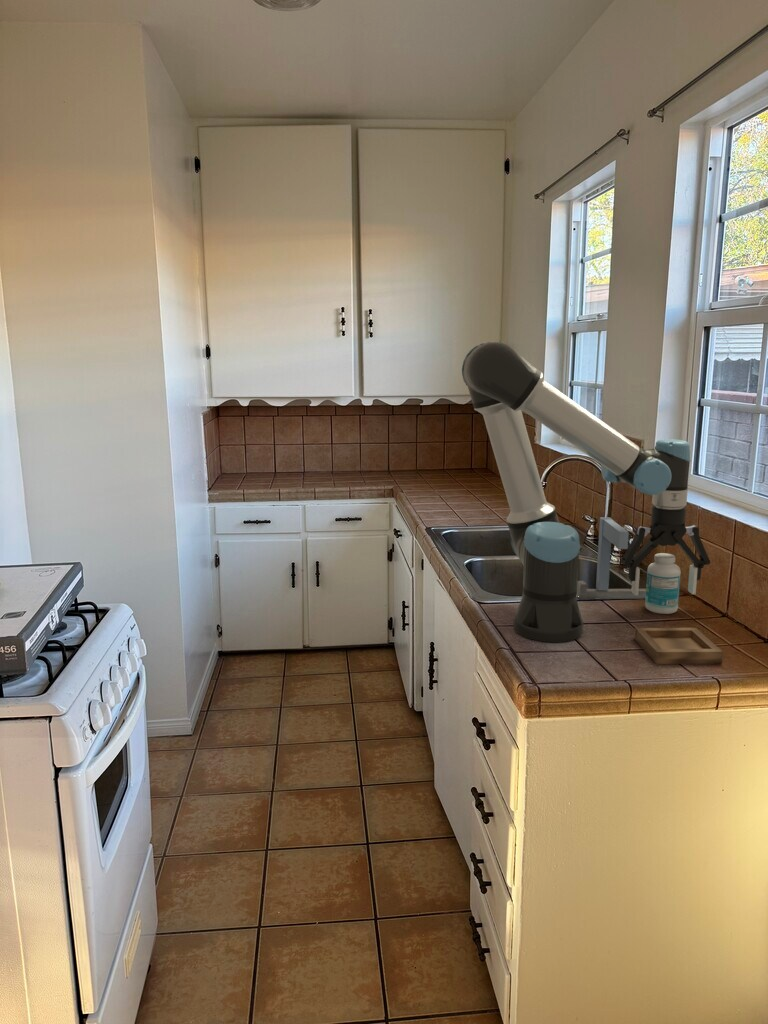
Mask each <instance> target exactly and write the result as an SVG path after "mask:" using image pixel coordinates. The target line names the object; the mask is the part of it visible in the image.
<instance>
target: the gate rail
mask: <svg viewBox="0 0 768 1024" xmlns="http://www.w3.org/2000/svg"><path fill="white" fill-rule="evenodd" d="M631 590H632V588H608V590H598V589H597V588H588V584H587V583H586V582H585V580H577V596H579V597H577V598H578V599H579V600H580V601H581V600H583V601H586V600H596V599H595V598H601V599H600V600H644V599H646V588H639V592H638V595H634V594H633V593H632V592H631Z"/></svg>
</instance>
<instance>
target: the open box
mask: <svg viewBox="0 0 768 1024" xmlns="http://www.w3.org/2000/svg"><path fill="white" fill-rule="evenodd" d="M634 640H635V641H636V642H637V644H638V645H639V646H640V647H641V648H642V649H643V651H644V652H645V653H646V654H647V655H648V656H649V657H650V659H651V660H652V661H653V662H654V663H655V664H656V665H658V664H660V665H664V664H666V665H668V664H669V665H670V664H671V665H672V664H673V665H674V664H677V665H678V664H681V665H683V664H684V665H685V664H686V665H687V664H688V665H689V664H691V665H692V664H697V665H698V664H700V665H701V664H702V665H703V664H704V665H705V664H707V665H708V664H709V665H710V664H722V663H723V657H724V656H723V654H724V651H723V650H722V649H721V648H720V647H718V646H717V645H716V644H715V642H713V641H711V639H709V638H708V637H707V636H706V635H704V633H702V632H701V630H699V629H698V628H697V627H635V628H634Z"/></svg>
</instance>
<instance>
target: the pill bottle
mask: <svg viewBox="0 0 768 1024" xmlns="http://www.w3.org/2000/svg"><path fill="white" fill-rule="evenodd" d="M676 557H677V556H676V555H674V554H672V553H667V552H665V553H664V552H660V553H656V554H654V558H653V559H654V562H652V563H650V564H649V565H648V567H647V569H646V570H647V571H646V573H647V574H646V585H645V587H646V588H645V589H646V599H645V600H644V601H645V603H644V606H645V609H647V610H648V611H649V612H652V613H655V614H661V615H663V614H664V615H669V614H674V613H676V612H677V611H678V609H679V600H680V598H679V597H680V587H681V586H680V585H681V574H682V573H681V568H680V566H678V565H677V564H675V563H676Z"/></svg>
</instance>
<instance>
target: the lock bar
mask: <svg viewBox="0 0 768 1024" xmlns="http://www.w3.org/2000/svg"><path fill="white" fill-rule="evenodd" d="M612 544H613V546H615V547H616V548H617V549H618V550H627V549H628V547H629V530H627V529H625V527H622V526H621V525H620V524H618V523H617V521H615V520H613V519H612V518H611V517H608V516H607V517H599V529H598V546H597V548H598V549H597V566H596V580H595V581H596V583H595V584H596V585H595V589H598V590H608V589H609V586H610V584H609V583H610V582H609V581H610V570H611V569H610V568H611V567H610V566H611V553H612V552H611V551H612Z"/></svg>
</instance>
